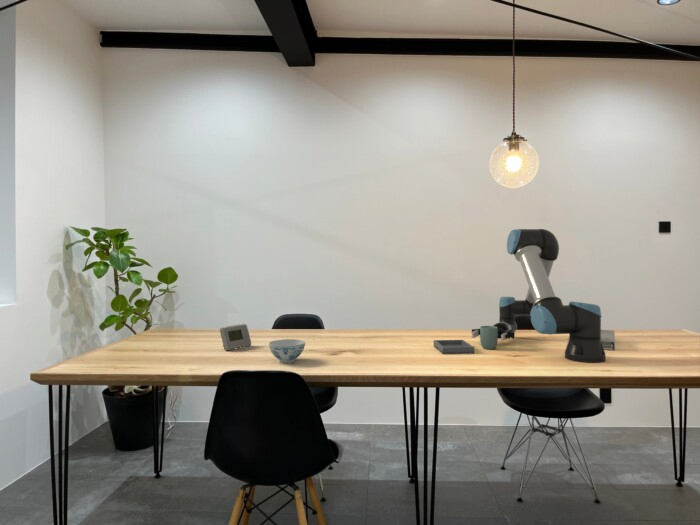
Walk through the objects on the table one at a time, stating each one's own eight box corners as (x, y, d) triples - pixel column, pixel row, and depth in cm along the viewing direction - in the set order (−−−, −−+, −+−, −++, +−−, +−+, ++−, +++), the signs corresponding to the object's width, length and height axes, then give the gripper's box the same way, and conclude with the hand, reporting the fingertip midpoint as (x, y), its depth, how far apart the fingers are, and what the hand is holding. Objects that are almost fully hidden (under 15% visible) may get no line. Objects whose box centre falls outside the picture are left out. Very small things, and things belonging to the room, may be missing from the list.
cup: (494, 350, 212) (494, 328, 212) (477, 349, 217) (477, 327, 217) (500, 348, 218) (500, 326, 218) (483, 346, 223) (483, 325, 223)
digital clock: (224, 351, 216) (224, 328, 216) (215, 349, 222) (215, 326, 222) (255, 346, 227) (255, 324, 227) (245, 344, 233) (245, 323, 233)
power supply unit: (568, 348, 219) (568, 337, 219) (573, 337, 248) (573, 327, 248) (615, 352, 210) (615, 341, 210) (614, 340, 239) (614, 330, 239)
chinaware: (265, 358, 200) (265, 340, 200) (300, 355, 205) (300, 338, 205) (273, 366, 186) (272, 347, 186) (309, 363, 191) (309, 344, 191)
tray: (474, 353, 207) (474, 347, 207) (442, 354, 206) (442, 347, 206) (462, 345, 225) (462, 339, 225) (433, 346, 224) (433, 340, 224)
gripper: (527, 340, 226) (514, 347, 209) (476, 335, 241) (461, 341, 223) (527, 324, 226) (514, 330, 209) (476, 320, 240) (461, 326, 223)
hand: (487, 336), depth 216 cm, fingers open, 13 cm apart
